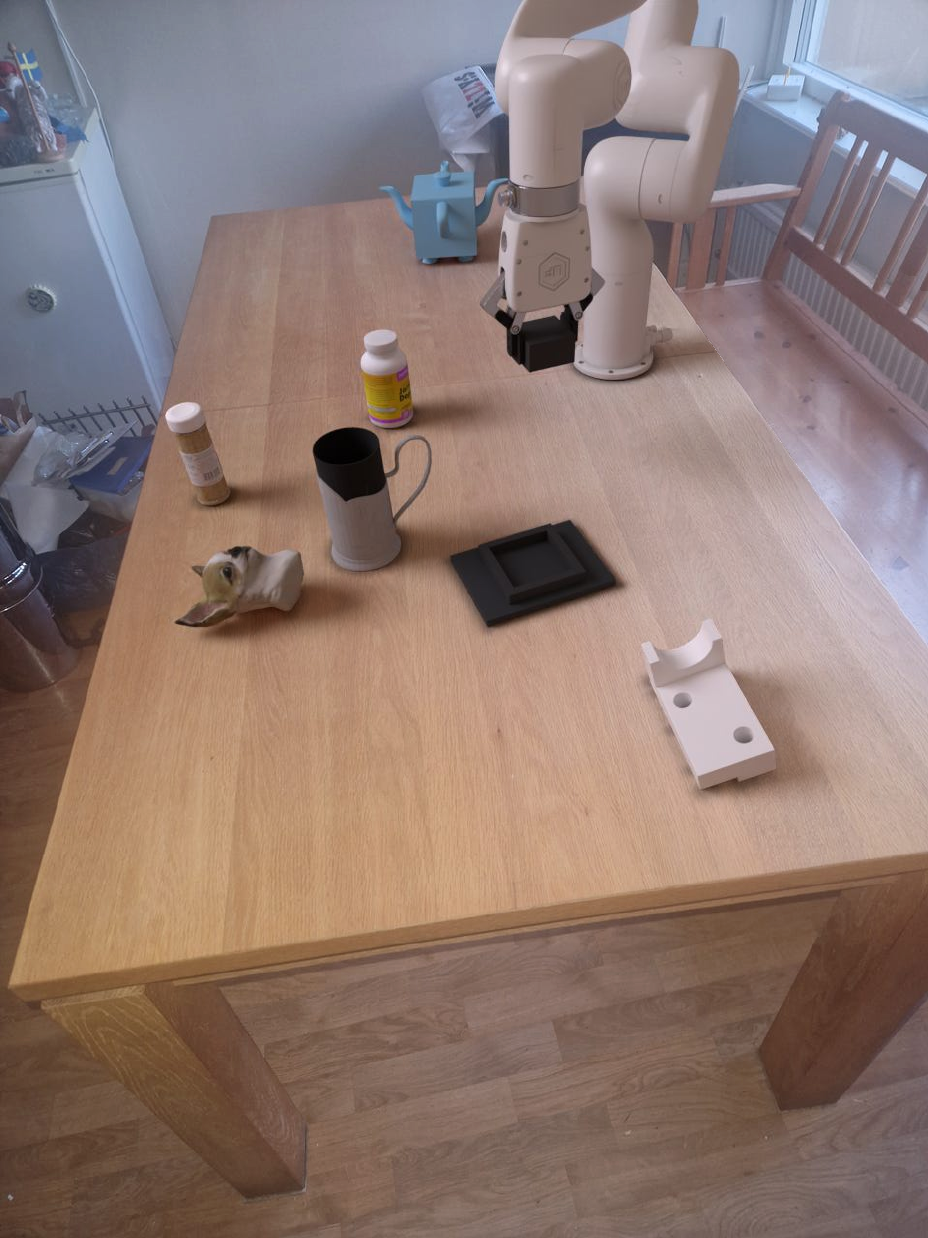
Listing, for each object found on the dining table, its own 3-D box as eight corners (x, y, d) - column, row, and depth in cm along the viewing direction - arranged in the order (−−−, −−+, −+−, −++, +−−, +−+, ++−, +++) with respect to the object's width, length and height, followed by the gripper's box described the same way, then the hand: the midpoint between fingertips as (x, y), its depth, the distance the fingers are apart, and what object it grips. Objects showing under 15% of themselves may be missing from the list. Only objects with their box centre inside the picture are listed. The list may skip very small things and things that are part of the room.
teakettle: (446, 279, 153) (440, 197, 142) (383, 255, 163) (373, 176, 152) (513, 247, 161) (512, 167, 151) (449, 226, 171) (444, 150, 161)
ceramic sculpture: (289, 574, 84) (152, 589, 85) (311, 630, 90) (182, 644, 91) (301, 511, 91) (174, 526, 92) (320, 567, 97) (201, 581, 98)
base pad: (569, 525, 100) (570, 509, 98) (615, 585, 92) (617, 569, 90) (450, 561, 97) (448, 545, 95) (487, 627, 89) (486, 611, 87)
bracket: (652, 687, 83) (640, 644, 77) (717, 664, 82) (711, 618, 76) (701, 794, 74) (692, 753, 68) (776, 769, 73) (772, 725, 67)
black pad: (554, 341, 101) (554, 314, 99) (574, 362, 97) (576, 334, 95) (510, 351, 100) (510, 324, 98) (529, 372, 96) (529, 345, 94)
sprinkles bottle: (226, 483, 111) (196, 396, 101) (234, 500, 108) (205, 413, 98) (194, 493, 110) (161, 407, 100) (201, 511, 107) (168, 424, 97)
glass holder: (322, 537, 101) (297, 436, 91) (426, 505, 105) (414, 403, 94) (343, 579, 96) (319, 477, 85) (452, 544, 99) (442, 440, 88)
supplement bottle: (407, 431, 117) (396, 349, 108) (364, 428, 118) (350, 347, 109) (418, 406, 122) (409, 326, 112) (376, 404, 123) (364, 324, 114)
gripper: (482, 220, 81) (488, 382, 94) (633, 192, 85) (619, 352, 98) (457, 199, 86) (466, 355, 99) (601, 173, 90) (591, 327, 103)
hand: (542, 352), depth 98 cm, fingers closed on black pad, 6 cm apart
